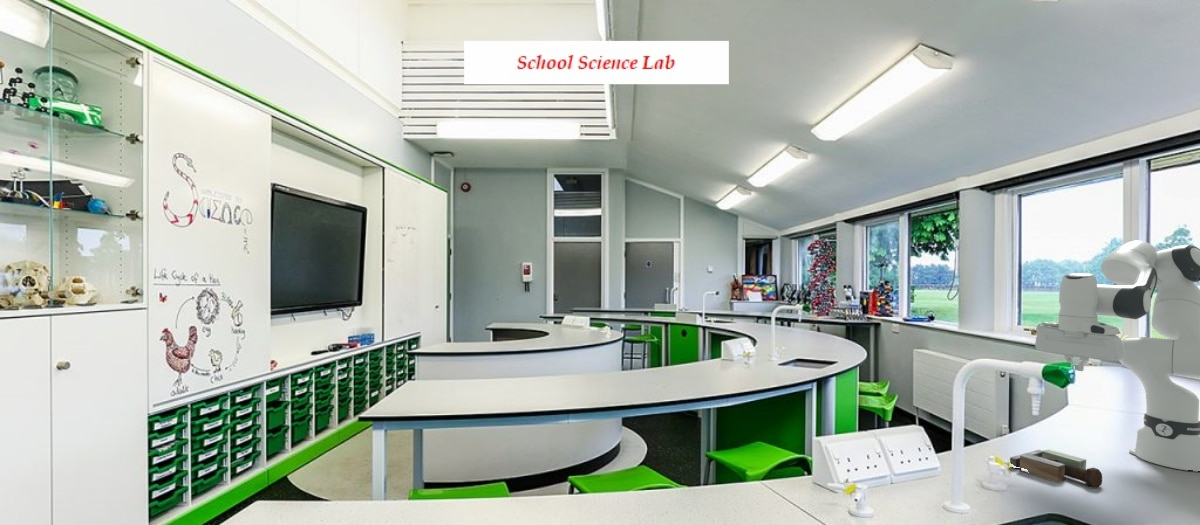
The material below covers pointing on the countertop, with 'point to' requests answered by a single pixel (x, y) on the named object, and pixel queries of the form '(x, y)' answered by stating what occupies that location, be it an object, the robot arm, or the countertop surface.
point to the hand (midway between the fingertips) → (1076, 370)
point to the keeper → (1047, 463)
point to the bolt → (1083, 474)
